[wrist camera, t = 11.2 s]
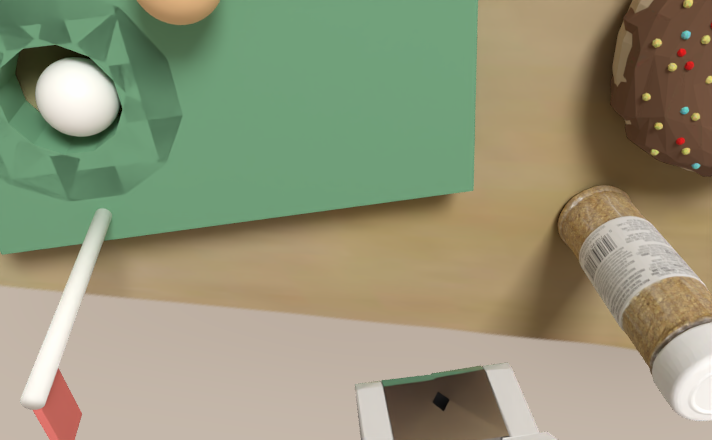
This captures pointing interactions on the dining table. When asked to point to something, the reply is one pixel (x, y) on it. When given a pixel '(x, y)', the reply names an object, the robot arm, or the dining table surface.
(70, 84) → the white ball
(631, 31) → the donut
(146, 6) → the orange ball
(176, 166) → the putting mat
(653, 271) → the sprinkles bottle
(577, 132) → the dining table surface
